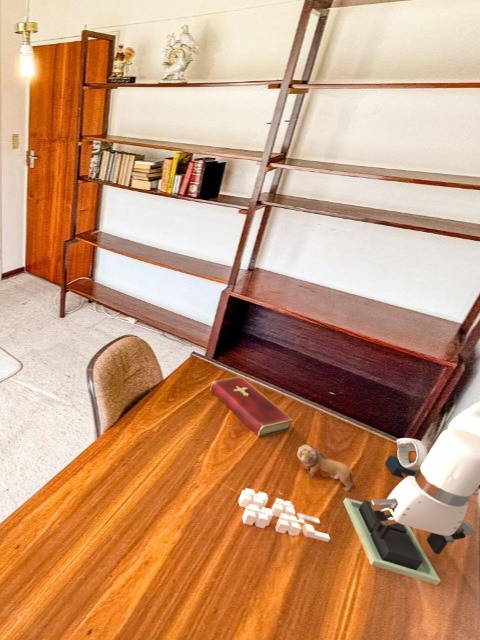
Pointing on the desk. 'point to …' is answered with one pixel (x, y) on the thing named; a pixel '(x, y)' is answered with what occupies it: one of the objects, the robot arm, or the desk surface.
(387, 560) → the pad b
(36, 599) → the desk surface
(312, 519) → the modular blocks
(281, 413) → the hardcover book
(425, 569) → the pale green flat tray
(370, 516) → the black square block
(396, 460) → the watch
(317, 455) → the lion figurine
